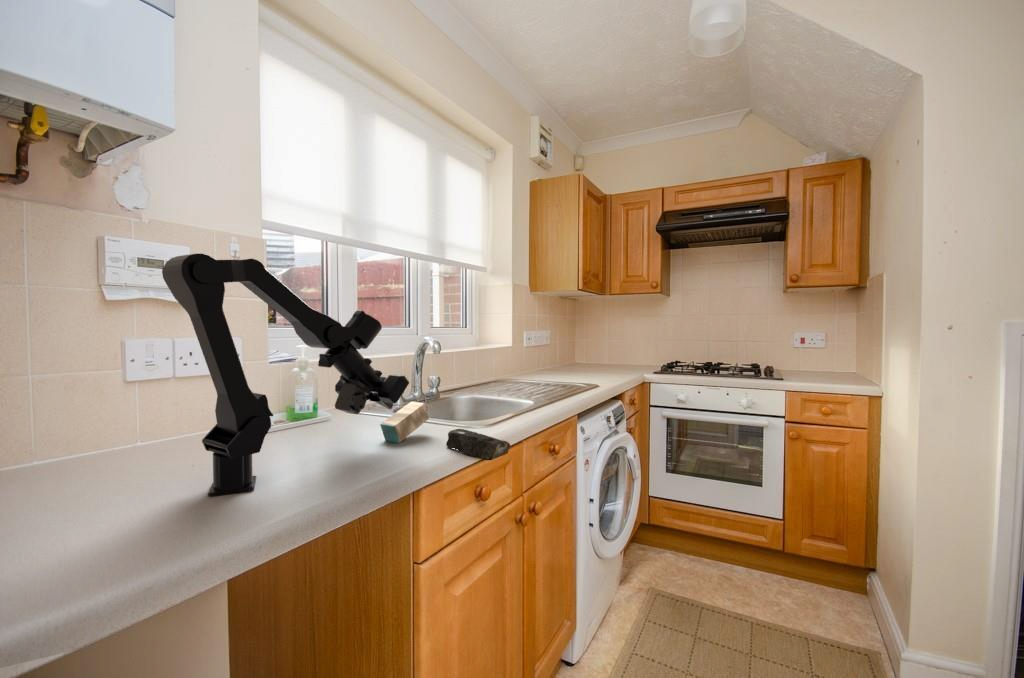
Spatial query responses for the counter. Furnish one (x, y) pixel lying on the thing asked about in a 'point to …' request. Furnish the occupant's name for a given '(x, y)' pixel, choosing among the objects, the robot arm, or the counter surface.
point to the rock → (477, 444)
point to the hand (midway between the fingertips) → (390, 407)
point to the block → (404, 422)
